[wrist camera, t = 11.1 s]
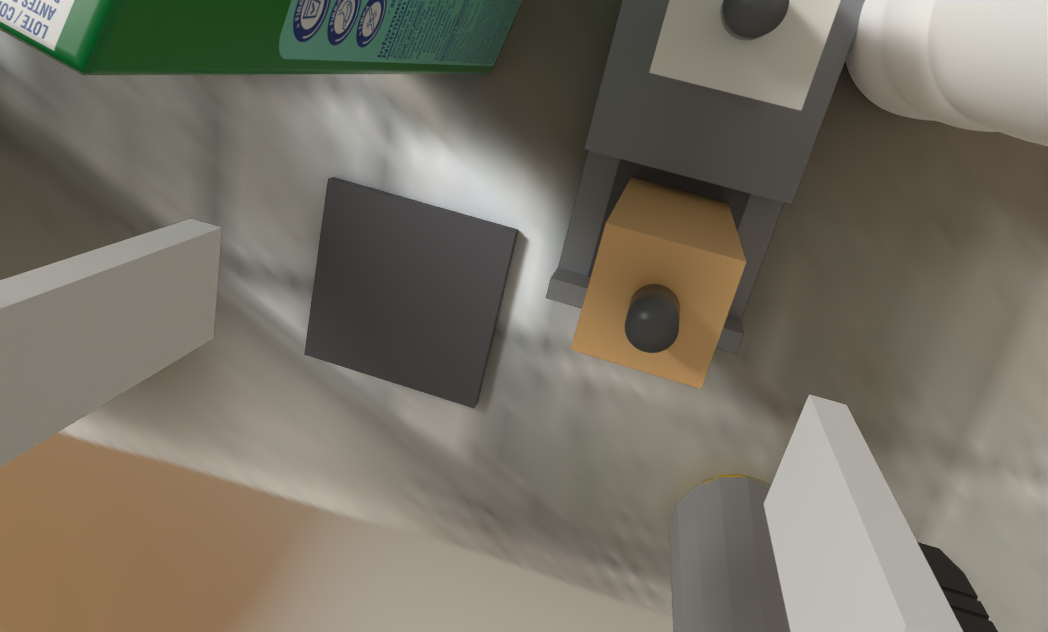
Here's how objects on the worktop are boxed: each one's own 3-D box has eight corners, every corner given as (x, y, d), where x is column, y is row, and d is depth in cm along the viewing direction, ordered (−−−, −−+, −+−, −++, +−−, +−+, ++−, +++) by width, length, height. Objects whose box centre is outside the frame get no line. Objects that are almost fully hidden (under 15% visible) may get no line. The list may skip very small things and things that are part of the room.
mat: (309, 350, 41) (304, 354, 41) (333, 177, 38) (328, 179, 37) (477, 403, 40) (474, 408, 39) (518, 229, 36) (515, 232, 36)
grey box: (556, 281, 37) (484, 394, 24) (683, -203, 29) (678, -422, 16) (732, 332, 36) (757, 480, 23) (910, -157, 28) (1098, -352, 15)
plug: (631, 177, 33) (598, 236, 21) (728, 203, 33) (751, 278, 21) (605, 268, 35) (560, 372, 23) (697, 295, 34) (701, 415, 22)
